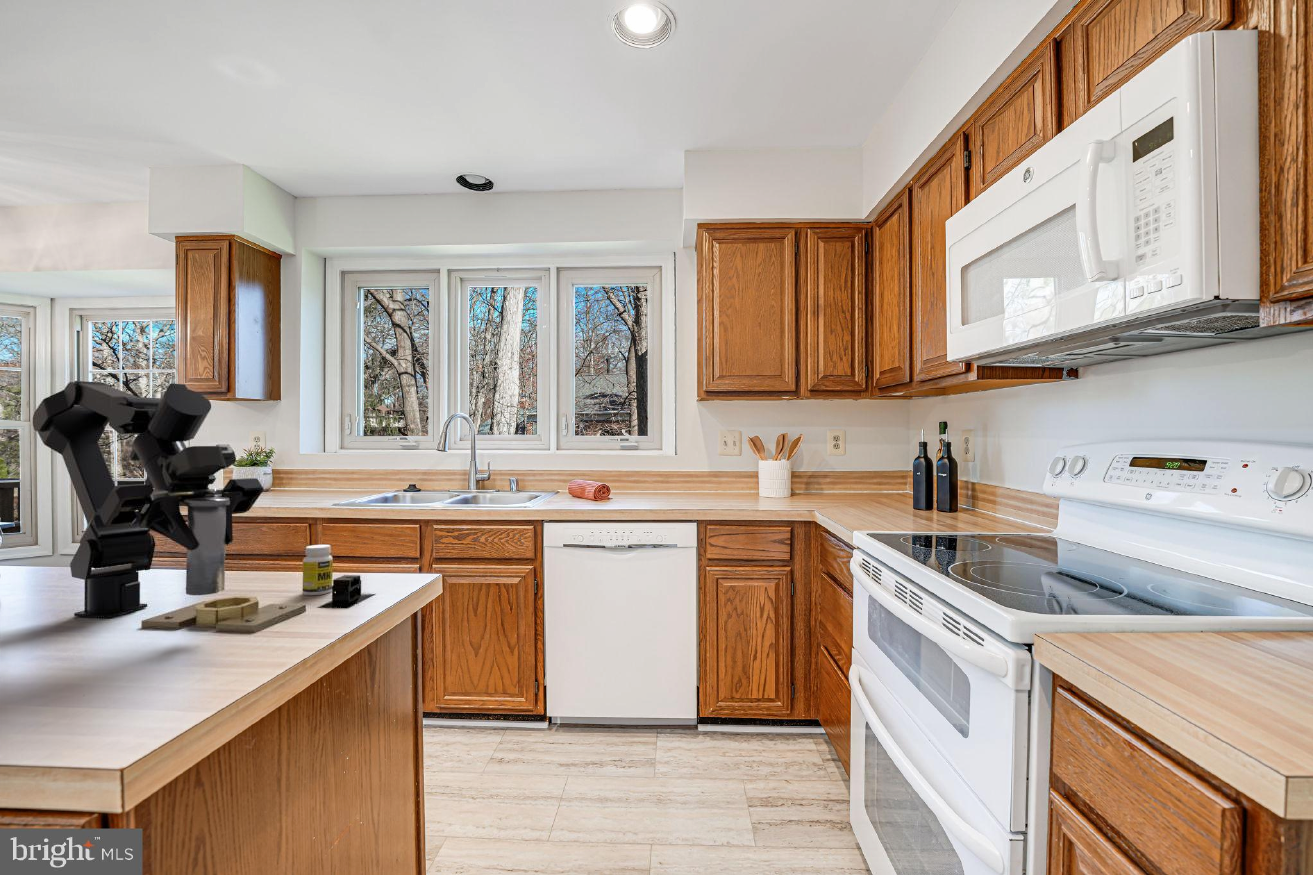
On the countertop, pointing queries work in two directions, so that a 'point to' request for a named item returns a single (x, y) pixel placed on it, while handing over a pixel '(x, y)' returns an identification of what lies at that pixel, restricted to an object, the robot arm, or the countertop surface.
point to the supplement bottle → (317, 570)
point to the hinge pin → (206, 545)
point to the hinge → (226, 615)
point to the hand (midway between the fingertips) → (212, 545)
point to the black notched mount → (346, 592)
